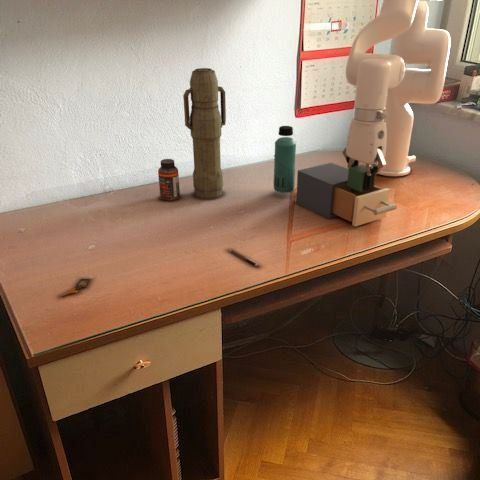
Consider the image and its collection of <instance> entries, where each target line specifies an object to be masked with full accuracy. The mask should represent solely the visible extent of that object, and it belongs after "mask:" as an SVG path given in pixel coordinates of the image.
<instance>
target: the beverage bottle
mask: <svg viewBox="0 0 480 480" xmlns="http://www.w3.org/2000/svg"><path fill="white" fill-rule="evenodd" d="M293 135H294V128H293V126H290V125H281V126H279V127H278V136H281V137H279V138H277V139H276V140H275V141H274V155H273V156H274V158H273V160H274V161H273V165H274V167H273V190H274V191H275V192H277V193H282V194H286V193H287V194H288V193H291V192H293V191H295V181H296V151H297V141H296V140H295V139H294V138H292V137H291V136H293Z"/></svg>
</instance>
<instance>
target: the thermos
mask: <svg viewBox="0 0 480 480" xmlns="http://www.w3.org/2000/svg"><path fill="white" fill-rule="evenodd" d="M219 94H220V95H219ZM182 96H183V97H182V98H183V113H184V114H183V115H184V126H185V127H186V128H187V129H189V131H190V137H191V138H192V139H191V140H192V151H193V152H192V153H193V172H192V184H193V188H194V189H193V190H194V194H193V195H194V197H196V198H197V199H200V200H215V199H219V198H221V197H222V196H223V195H224V192H223V187H224V172H223V170H222V165H221V164H222V163H221V161H222V160H221V137H222V128H223V126H226V119H227V113H226V111H227V107H226V91H225V90H224V87H222V86H220V85H219V80H218V77H217V75H216V71H215V70H214V69H212V68H209V67H199V68H194V70H192V71H191V75H190V80H189V88H188V89H185V91H184V94H183V95H182ZM189 96H190V101H191V106H190V103H189V102H190V101H189ZM219 96H220V107H219V104H218V103H219V102H218V101H219ZM190 107H191V110H190ZM219 108H220V109H219Z"/></svg>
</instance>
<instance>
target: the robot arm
mask: <svg viewBox="0 0 480 480" xmlns="http://www.w3.org/2000/svg"><path fill="white" fill-rule="evenodd" d="M440 1H442V0H383V1H382V4H381V8H380V10H379V15H377V16H376V17H375V18H373V19H372V20H370V21H369V22H368V23H367V24H366V25H364V27H362V29H361V30H360V31H359V32H358V33H357V35H356V37H355V38H354V40H353V41H352V45H351V48H350V51H349V55H348V58H347V62H346V66H345V79H346V82H347V83H348V84H350V85H351V86H354V87H355V86H356V87H355V88H356V89H355V96H354V104H353V115H352V118H351V120H350V124H349V128H348V133H347V139H346V146H345V148H344V149H343V151H342V155H343V157H344V158H345V161H346V163H347V169H349V168H351V167H355V166H359V165H360V163H363V164H365V166H366V171H367V175H365V179H364V187H363V190H365V191H366V190H370V189H373V187H374V185H375V183H374V180H375V181H376V175H381V176H385V177H403V176H404V177H405V176H408V175H409V174H410V173H411V167H410V166H409V164H410V163H413V162H416V161H417V156H416V155H411V156H409V150H410V144H411V138H412V131H413V125H414V119H415V117H414V112H413V110H412V108H411V106H410V105H409V104H423V105H424V104H426V105H433V104H436V103H438V102H439V101H440V100H441V97H442V95H443V91H444V86H445V80H446V76H447V75H446V74H447V68H448V61H449V57H450V49H451V36H450V33H449V31H447V30H445V29H440V28H428V27H427V26H428V25H427V23H428V17H429V12H430V11H429V5H428V3H427V2H440ZM393 38H394V41H393V54H384V53H369V52H367V51H368V50H370V49H371V48H372V47H374V46H375V45H378V44H380V43H382V42H385V41H388V40H390V39H393ZM366 52H367V53H366ZM406 65H414V66H428V67H429V69H426V68H425V69H421V68H411V67H410V68H408V67H406ZM371 168H372V169H371ZM375 174H376V175H375Z"/></svg>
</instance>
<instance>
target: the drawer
mask: <svg viewBox="0 0 480 480" xmlns="http://www.w3.org/2000/svg"><path fill="white" fill-rule="evenodd" d="M390 192H391V189H390V188H388V187H385V188H382V187H380V186H377V185H375V184H374V188H373V189H370V190H366V191H365V190H364V191H361V192H360V191H357V190H355V189H352V188H350V187H347V184H344V185H340V186H336V187H334V192H333V203H332V213H333V214H335V215H337V216H336V217H340V218H342V219H344V220H346V221H348V222H350V223H351V224H352V226H353V227H358V226H361V225H365V224H369V223H371V222H374V221H378V220H380V219H384V218H386V217H387V213H388V212H391V211H395V210H397V208H398V205H397V204H396V203H389V199H390Z"/></svg>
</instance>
